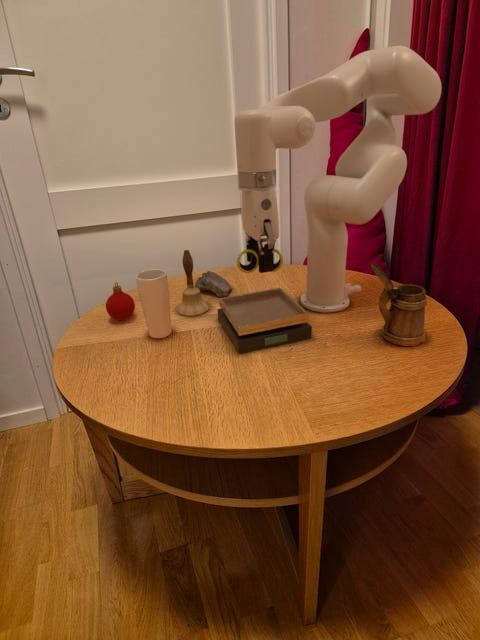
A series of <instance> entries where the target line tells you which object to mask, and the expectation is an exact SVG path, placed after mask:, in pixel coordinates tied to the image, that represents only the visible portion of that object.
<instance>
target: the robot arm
mask: <svg viewBox="0 0 480 640" xmlns="http://www.w3.org/2000/svg"><path fill="white" fill-rule="evenodd" d="M441 96H442V81H441V79H440V76H439V74H438V72H437V71H436V70H435V69H434V67H432V66H431V65H430V64H429V63H428V62H427V61H425V60H424V58H423V57H421V55H419V54H418V53H417V52H416V51H415V50H413V49H411V48H409V47H408V46H405V45H393V46H392V45H391V46H387V47H383V48H381V47H380V48H376V49H375V48H374V49H370V50H366V51H365V50H364V51H362V52H360V53H358V54H356V55H355V56H353V57H352V58H350V59H349V60H347V61H345V62H344V63H342V64H341V65H339V66H337V67H336V68H334V69H332V70H331V71H329V72H328V73H326V74H325V75H322V76H320V77H318V78H314V79H312V80H310V81H308V82H306V83H304V84H303V85H300V86H298V87H295V88H292V89H289V90H288V91H285V92H283V93H281V94H279V95H277V96H275V97H274V98H272V99H271V100H269V101H268V102H266V103H264V104H262V105H261V106H259V107H258V108H257V109H245V110H240V111H238V112H236V114H235V116H234V135H235V137H234V139H235V154H236V155H235V156H236V157H235V158H236V173H237V188H238V190H239V191H241V221H242V224H241V225H242V230H243V232H244V233H245V234H246V235H245V247H246V249H245V250H253V251H254V252H256V254H257V255H258V272H259V273H260V274H264V273H270V271H273V270H274V264H275V257H274V256H275V252H274V249H275V246H276V243H277V239H278V238H279V237H280V223H279V208H278V207H279V206H278V200H277V199H278V198H277V193H276V188H277V159H276V157H277V155H276V153H277V152H276V151H277V149H285V150H286V149H288V150H289V149H290V150H295V149H300V148H302V147H304V146H306V145H307V144H309V143H310V141H311V140H312V138H313V137H314V135H315V132H316V123H321V122H326V121H330V120H334V119H336V118H341V116H343V115H345V114H346V113H348V112H349V111H350V110H352V109H353V108H355V107H356V106H358V105H359V104H360V103H362V102H364V101H366V106H365V107H366V108H365V113H366V114H365V125H364V127H363V129H362V130H361V131H360V133H359V134H358V135H357V136H356V138H355V139H354V140H353V141H352V142H351V143H350V145H349V146H348V147H347V148H346V149H345V151H343V153H342V154H341V155H340V156H339V158H338V160H337V162H336V164H335V175H334V174H333V175H332V174H331V175H329V174H328V175H327V174H325V175H320V176H317V177H315V178H313V179H312V180H311V181H310V182H309V183H308V185H307V186H306V188H305V191H304V197H303V198H304V199H303V201H304V209H305V216H306V222H307V251H306V252H307V254H306V256H307V257H306V258H307V259H306V291H305V292H303V293H302V295H300V298H299V299H300V300H299V301H300V303H299V304H300V305H301V307H303V308H305V309H307V310H309V311H313V312H316V313H335V312H336V313H337V312H340V311H343V310H345V309H346V308H348V307H349V305H350V297H349V296H350V295H351V294H357V293H360V292H361V291H362V287H361V285H360V284H354V285H352V283H350V282H349V283H346V270H347V269H346V268H347V252H348V242H349V235H348V230H347V226H346V224H347V223H348V224H352V225H364V224H366V223H368V222H370V221H371V220H373V218H374V217H375V216H376V215H377V214H378V213H379V211H380V210H381V209H382V208H383V207H384V206H385V204H386V203H387V202H388V200H389V199H390V198H391V197H392V195H393V194H394V193H395V192H396V191H397V190H398V188H399V186H401V183H402V182H403V180H404V177H405V175H406V171H407V167H408V159H407V155H406V152H405V151H404V149H403V148H401V146H398V145H396V143H397V132H396V128H395V126H394V124H393V116H415V115H416V116H417V115H424V114H427V113H430V112H431V111H433V110H434V109H435V107H437V105H438V103H439V102H440V98H441ZM262 237H263V238H262ZM263 243H264V244H263ZM246 261H247V262H248V263H250V262H251V256H250V255H249V254H248V253H246Z"/></svg>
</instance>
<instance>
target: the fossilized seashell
mask: <svg viewBox="0 0 480 640" xmlns="http://www.w3.org/2000/svg"><path fill="white" fill-rule="evenodd" d="M194 287H195V288H198V289H199V290H200V291H211V292H212V293H213V294H214V295H216V297H219V298H224V297H228V295H229V292H231V291H232V289H233V288H232V285H231V284H230V283H229V282H228V280H227V279H225V277H224V278H223V276H222V275H219V274H218V273H216V272H214V271H212V270H211V271H210V270H207V271H206V272H202V274H201V276H200V277H198V278H197V279H196V281H195V283H194Z"/></svg>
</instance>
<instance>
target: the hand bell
mask: <svg viewBox="0 0 480 640" xmlns="http://www.w3.org/2000/svg"><path fill="white" fill-rule="evenodd" d="M182 267H183V270H184V273H185V276H186V277H185V278H186V288H185V289H183V290H182V298H181V299H182V300H181V303H180V305H179V306H178V307H177V313H178V314H179V315H181V316H185V317H195V316H200V315H203V314H205V313H206V312H208V311H209V310H210V306H209V304H208V303H207V302H205V300H204V299H203V297H202V294H201V290H200V289H198V288H195V283H194V277H193V271H194V260H193V257H192V255H191V252H190V250H189V249H184V250H183V255H182Z"/></svg>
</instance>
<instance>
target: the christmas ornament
mask: <svg viewBox="0 0 480 640" xmlns="http://www.w3.org/2000/svg"><path fill="white" fill-rule="evenodd" d="M135 309H136V303H135V300H134V298H133V297H132V296H131V295H130V294H129V293H126V292H124V291H123V289H122V285H119V282H117V281H116V282H115V283H114V286H113V287H112V294H111V295H110V296H108V298H107V300H106V302H105V310H106V313H107V314H108V315H109V317H111V318H112V319H114V320H116V321H125V320H128V319H129V318H131V317H132V316H133V314H134V312H135Z"/></svg>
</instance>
